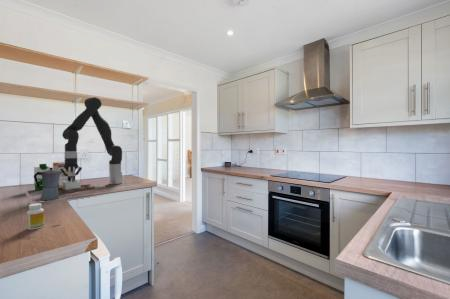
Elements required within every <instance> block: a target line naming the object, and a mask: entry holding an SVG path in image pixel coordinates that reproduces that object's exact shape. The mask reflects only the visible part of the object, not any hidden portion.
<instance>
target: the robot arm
mask: <svg viewBox="0 0 450 299" xmlns="http://www.w3.org/2000/svg"><path fill="white" fill-rule="evenodd" d="M84 106H85V109H84V110H83V111H82V112H81V113H80V114H79V115H77V116H76V117H75V119H74V120H73V121H72V122H71V124H70V125H69V126H67V127H66V128H65V129H64V130H63V131H62V138H63V139H64V140H67V142H66V143H65V144H64V162H65V165H64V167H63V168H61V169H60V170H61V171H62V173H63V174H64V175H65V176H68V181H69V182H70V181H71V178H70V171H72V173H73V177H74V180H76V176H78V175H79V174H80V173H81V170H82V169H83V167H82V166H79V164H78V152H77V151H78V150H77V149H78V146H77V145H78V142H79V138H80V136H79V131H81V130H82V129H83V128H84V127H85V124H87V122H88V121H89V119H90V118H91V119H92V120H93V123H94V124H95V127H96V129H97V131H98V133H99V135H100V138H101V140H102V141H103V144H104V147H105V150H106V152H107V154H108V155H109V156H111V159H110V160H109V161H108V169H109V170H108V172H109V173H108V174H109V175H108V176H109V177H108V178H109V179H108V181H109V184H110V185H119V184H123V172H122V160H123V148H122V147H121V146H120V145H115V144H114V141H113V140H112V139H113V138H112V129H111V127H110V125H109V123H108V121H107V120H106V119H105V118H104V117H103V116H102V115H101V114H100V112H99V109H100V108H101V107H102V101H101V98H98V97H95V96H94V97H89V98H86V99H85V100H84ZM64 169H66V170H67V174H66V173H65V172H64Z"/></svg>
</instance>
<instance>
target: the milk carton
mask: <svg viewBox="0 0 450 299" xmlns="http://www.w3.org/2000/svg"><path fill="white" fill-rule="evenodd" d="M38 165H39V166H33V170H34V171H33V176H34V175H35V174H36V173H37V172H44V171H49V170H50V168H51V166H50V165H47V163H40V164H38ZM36 177H37V180H38V184H39V185H40V186H41V185H42V187H37V185H36V182H35V179H34V178H33V180H34V190H35V191H42V190H43V181H42V175H37V176H36Z"/></svg>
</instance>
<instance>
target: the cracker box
mask: <svg viewBox="0 0 450 299" xmlns="http://www.w3.org/2000/svg"><path fill="white" fill-rule="evenodd" d="M64 165H65V161H58V162H56V161H55V162H52V168H53V169H52V170H54V171H61V170H60V169H61V168H63V167H64ZM61 172H62V171H61ZM64 172H65V173H66V174H67V170H66V169H64ZM70 175H71V176H73V173H72V171H70ZM71 180H72V178H71ZM63 181H68V176H65V175H64V174H63V173H61V175H60V177H59V188H60V187H63Z"/></svg>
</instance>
